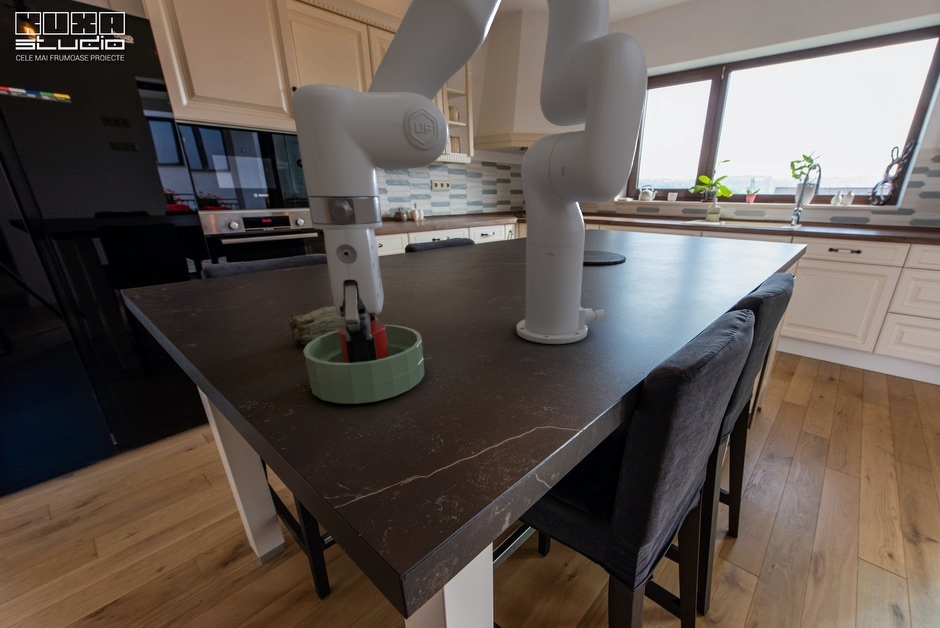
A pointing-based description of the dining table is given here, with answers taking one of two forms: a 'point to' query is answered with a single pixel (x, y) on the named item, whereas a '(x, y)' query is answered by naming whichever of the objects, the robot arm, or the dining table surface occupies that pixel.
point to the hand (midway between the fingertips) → (366, 357)
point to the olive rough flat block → (315, 324)
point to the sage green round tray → (364, 368)
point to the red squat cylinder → (377, 333)
